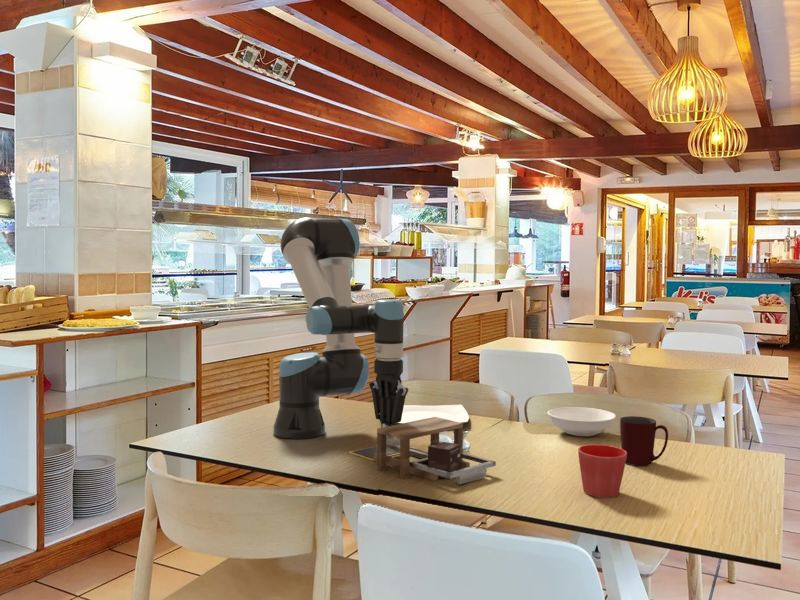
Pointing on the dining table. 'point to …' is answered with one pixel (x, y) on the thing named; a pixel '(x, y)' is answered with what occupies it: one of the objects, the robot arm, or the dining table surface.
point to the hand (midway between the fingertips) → (387, 447)
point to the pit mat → (368, 452)
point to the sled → (461, 475)
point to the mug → (640, 439)
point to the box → (444, 457)
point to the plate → (434, 413)
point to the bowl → (581, 420)
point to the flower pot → (601, 469)
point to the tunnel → (409, 432)
